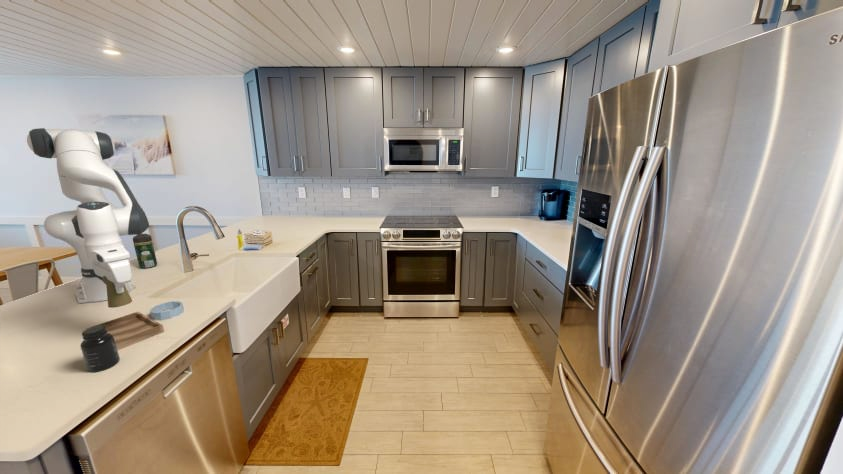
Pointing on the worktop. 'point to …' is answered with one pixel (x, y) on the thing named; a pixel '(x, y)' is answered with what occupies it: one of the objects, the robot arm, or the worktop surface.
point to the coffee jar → (144, 251)
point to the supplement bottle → (99, 349)
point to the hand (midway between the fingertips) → (116, 290)
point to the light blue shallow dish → (176, 310)
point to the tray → (132, 329)
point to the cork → (116, 295)
